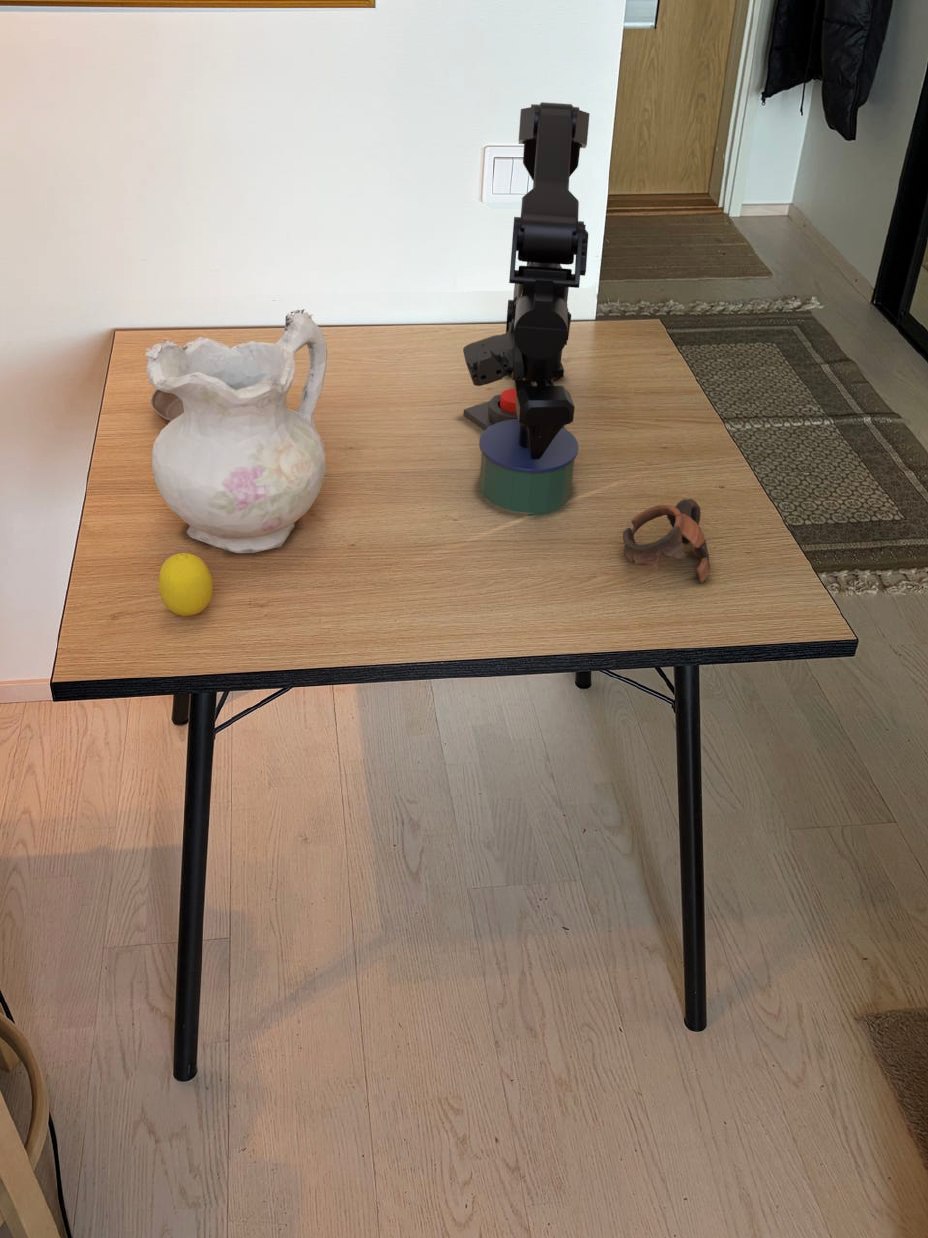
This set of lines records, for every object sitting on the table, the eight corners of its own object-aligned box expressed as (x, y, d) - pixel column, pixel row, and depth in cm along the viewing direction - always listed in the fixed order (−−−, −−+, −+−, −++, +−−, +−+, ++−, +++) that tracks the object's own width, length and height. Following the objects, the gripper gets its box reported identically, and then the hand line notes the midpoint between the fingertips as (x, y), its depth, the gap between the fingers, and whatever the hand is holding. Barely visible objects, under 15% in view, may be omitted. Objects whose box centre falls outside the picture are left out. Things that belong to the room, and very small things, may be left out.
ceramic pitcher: (261, 467, 151) (234, 279, 136) (378, 510, 142) (362, 313, 127) (134, 543, 137) (88, 343, 122) (255, 596, 128) (221, 387, 113)
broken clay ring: (703, 602, 132) (676, 550, 127) (630, 604, 138) (602, 555, 133) (734, 528, 138) (709, 476, 133) (663, 533, 144) (637, 483, 139)
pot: (532, 458, 154) (536, 415, 150) (588, 498, 147) (594, 454, 143) (462, 483, 148) (464, 439, 144) (517, 526, 141) (521, 481, 137)
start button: (517, 397, 160) (518, 385, 159) (535, 409, 158) (536, 397, 156) (494, 404, 158) (494, 393, 157) (511, 417, 156) (512, 405, 155)
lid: (536, 417, 150) (539, 381, 147) (598, 459, 143) (602, 422, 140) (459, 442, 145) (460, 406, 141) (519, 487, 137) (522, 450, 134)
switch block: (514, 402, 165) (516, 379, 163) (563, 435, 159) (566, 413, 156) (462, 418, 161) (464, 396, 159) (511, 454, 154) (513, 430, 152)
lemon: (171, 636, 123) (162, 575, 118) (157, 606, 126) (147, 546, 121) (222, 622, 125) (215, 562, 120) (206, 593, 128) (199, 534, 123)
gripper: (461, 285, 139) (456, 402, 149) (479, 357, 125) (472, 481, 135) (553, 285, 140) (542, 401, 150) (581, 356, 126) (567, 479, 136)
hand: (529, 438), depth 143 cm, fingers open, 9 cm apart
